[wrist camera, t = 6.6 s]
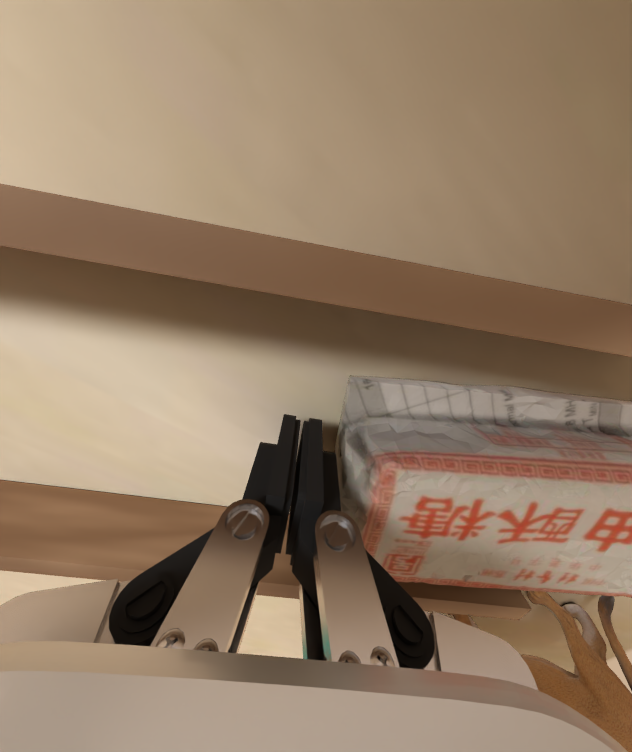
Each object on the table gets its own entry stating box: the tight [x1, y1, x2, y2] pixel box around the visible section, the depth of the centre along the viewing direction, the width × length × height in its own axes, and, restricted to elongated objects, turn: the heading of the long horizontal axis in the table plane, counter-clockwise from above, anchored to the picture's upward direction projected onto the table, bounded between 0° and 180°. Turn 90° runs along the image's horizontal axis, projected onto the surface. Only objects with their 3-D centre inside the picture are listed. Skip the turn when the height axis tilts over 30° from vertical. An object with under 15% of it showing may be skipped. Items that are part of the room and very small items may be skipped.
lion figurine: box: [447, 591, 632, 752], centre depth 15 cm, size 15×5×9 cm, turn 117°
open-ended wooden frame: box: [0, 184, 632, 620], centre depth 10 cm, size 15×35×4 cm, turn 80°
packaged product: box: [335, 375, 632, 598], centre depth 11 cm, size 18×5×10 cm
